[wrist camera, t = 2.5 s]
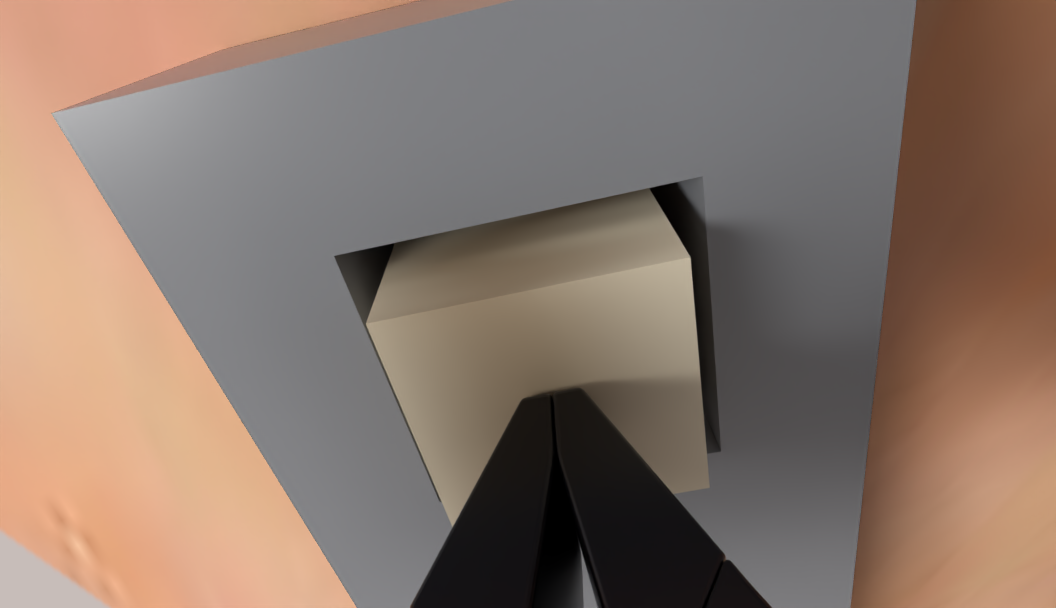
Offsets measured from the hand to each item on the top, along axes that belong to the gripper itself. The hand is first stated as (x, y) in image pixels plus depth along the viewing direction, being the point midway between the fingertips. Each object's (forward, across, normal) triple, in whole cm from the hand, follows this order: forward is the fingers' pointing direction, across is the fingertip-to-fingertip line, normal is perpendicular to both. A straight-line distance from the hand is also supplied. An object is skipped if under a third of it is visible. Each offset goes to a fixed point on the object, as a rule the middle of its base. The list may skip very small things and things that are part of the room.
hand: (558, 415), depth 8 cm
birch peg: (+5, 0, 0) cm, 5 cm away
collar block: (+6, 0, +6) cm, 9 cm away
